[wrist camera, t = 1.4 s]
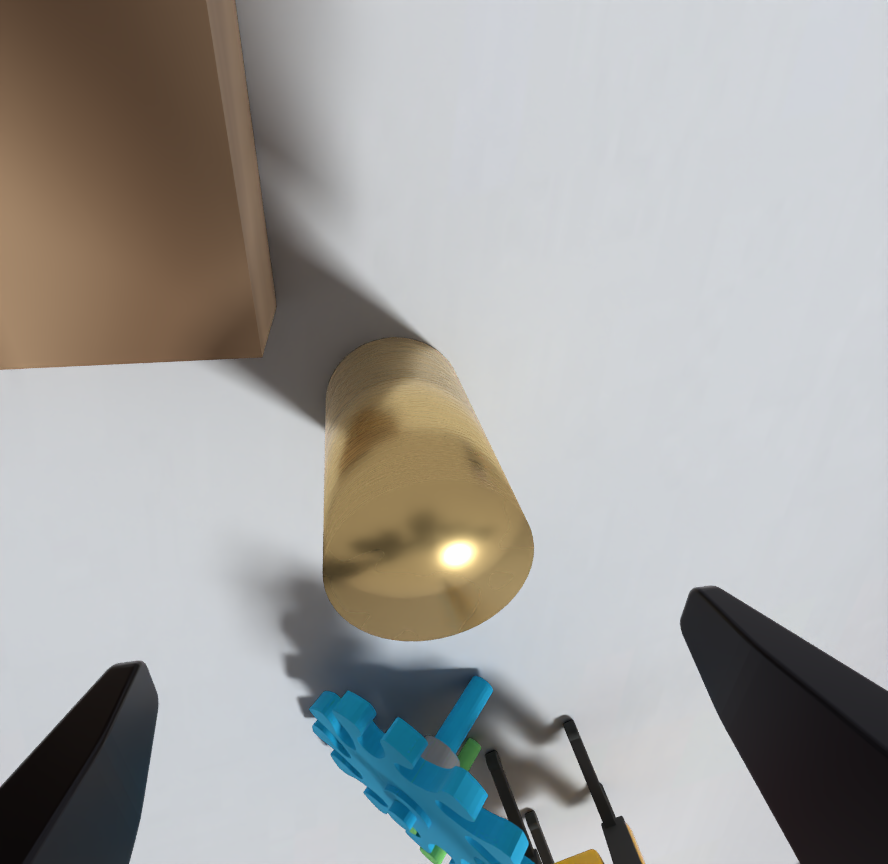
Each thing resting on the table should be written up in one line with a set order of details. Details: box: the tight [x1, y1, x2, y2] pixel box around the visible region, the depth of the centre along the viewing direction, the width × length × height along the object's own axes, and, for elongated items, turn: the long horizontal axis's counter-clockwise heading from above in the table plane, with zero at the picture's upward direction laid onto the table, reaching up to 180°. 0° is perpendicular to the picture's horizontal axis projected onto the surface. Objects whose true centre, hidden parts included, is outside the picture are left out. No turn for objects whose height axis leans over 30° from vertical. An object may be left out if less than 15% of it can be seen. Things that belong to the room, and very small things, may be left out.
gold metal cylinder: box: [323, 337, 534, 641], centre depth 13 cm, size 4×4×7 cm
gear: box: [309, 676, 535, 864], centre depth 22 cm, size 11×6×10 cm
